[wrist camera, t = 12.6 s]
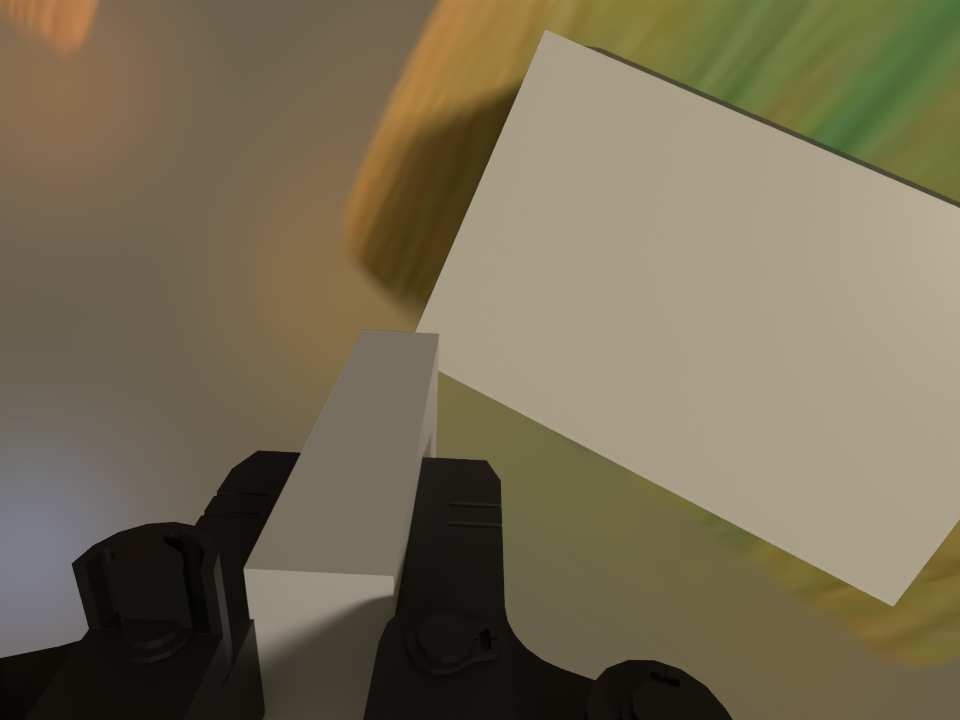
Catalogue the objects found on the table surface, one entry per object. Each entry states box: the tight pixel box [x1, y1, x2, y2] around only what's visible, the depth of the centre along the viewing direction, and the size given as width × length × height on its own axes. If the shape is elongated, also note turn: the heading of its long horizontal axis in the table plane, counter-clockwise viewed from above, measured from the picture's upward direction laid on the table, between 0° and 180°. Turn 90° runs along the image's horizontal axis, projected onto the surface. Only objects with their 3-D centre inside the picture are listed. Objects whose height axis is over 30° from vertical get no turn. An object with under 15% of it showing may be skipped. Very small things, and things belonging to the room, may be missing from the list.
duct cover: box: [415, 30, 960, 606], centre depth 18 cm, size 16×10×1 cm, turn 69°
